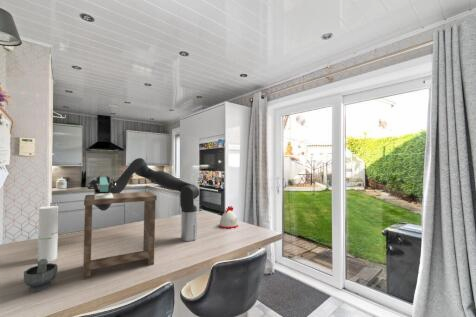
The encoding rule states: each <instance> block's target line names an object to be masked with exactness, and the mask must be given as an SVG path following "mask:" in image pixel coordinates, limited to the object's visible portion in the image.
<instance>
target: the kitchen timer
mask: <svg viewBox="0 0 476 317" xmlns="http://www.w3.org/2000/svg"><path fill="white" fill-rule="evenodd" d="M236 215H237V214H235V213H234V207H233V206H232V205H231V206H230V205H229V206H227V208H226V209H225V210H224V213H222V215H221V216H220V221H219V228H221V229H224V228H226V229H225V230H232V229H231V228H234V229H237V228H238V227H239V222H238V218H237V216H236ZM236 227H237V228H236Z"/></svg>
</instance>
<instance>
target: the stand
mask: <svg viewBox="0 0 476 317" xmlns="http://www.w3.org/2000/svg"><path fill="white" fill-rule="evenodd" d="M157 197H158V196H157V195H156V194H154V193H153V192H152V191H141V192H140V191H139V192H120V193H116V194H112V193H103V194H95V195H94V194H86V195H85V197H84V199H83V206H84V231H83V267H82V271H83V272H82V273H83V274H82V280H84V281H85V280H87V279H88V280H89V279H91V271H92V270H94V269H100V268H105V267H111V266H114V265H116V266H117V265H119V264H124V263H131V262H136V261H140V260H145V261H146V263H147V266H152V265H155V240H156V237H155V235H156V234H155V233H156V232H155V231H156V201H157V199H158V198H157ZM135 202H136V203H138V202H140V203H141V202H144V204H143V206H144V208H143V210H144V211H143V242H142V243H143V246H142V247H143V248H142V249H143V250H140V251H135V252H130V253H123V254H118V255H112V256H107V257H100V258H95V259H92V237H93V236H92V232H93V230H92V229H93V228H92V227H93V205H94V206H95V205H99V204H111V205H112V204H122V203H124V204H125V203H135Z"/></svg>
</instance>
